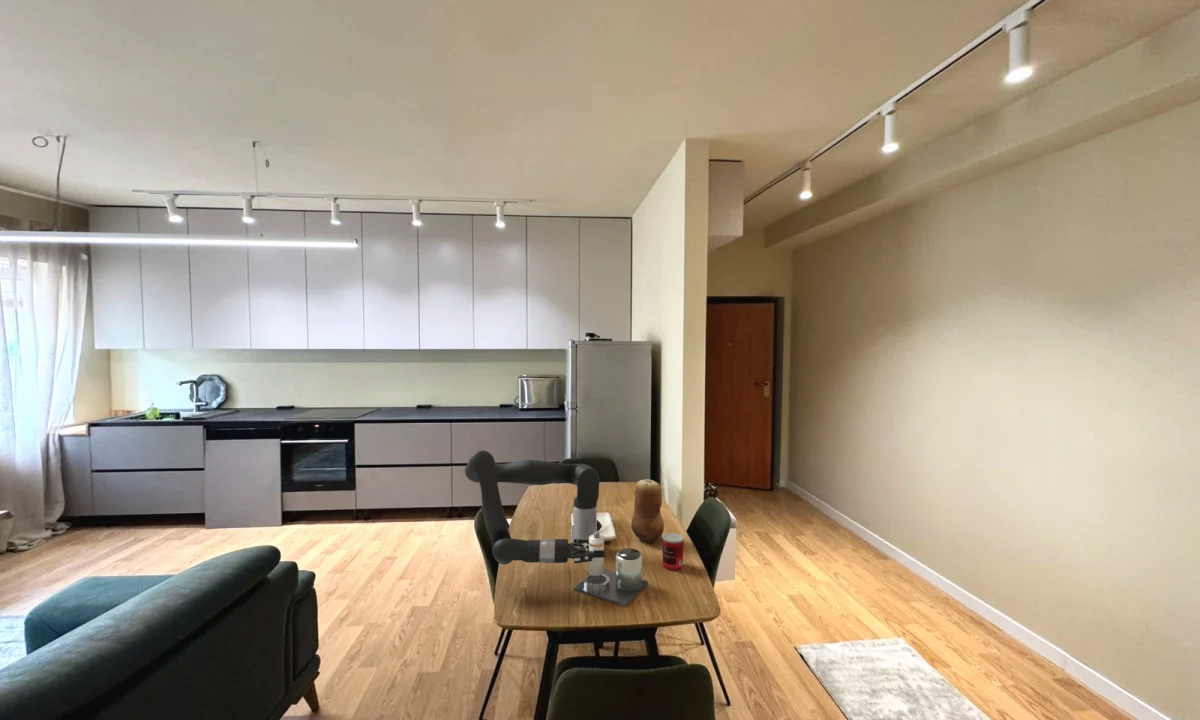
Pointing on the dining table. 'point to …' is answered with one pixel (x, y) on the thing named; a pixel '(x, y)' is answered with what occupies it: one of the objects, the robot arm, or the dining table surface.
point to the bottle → (597, 563)
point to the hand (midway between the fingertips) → (604, 550)
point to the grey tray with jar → (617, 579)
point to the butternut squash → (647, 511)
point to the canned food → (672, 551)
